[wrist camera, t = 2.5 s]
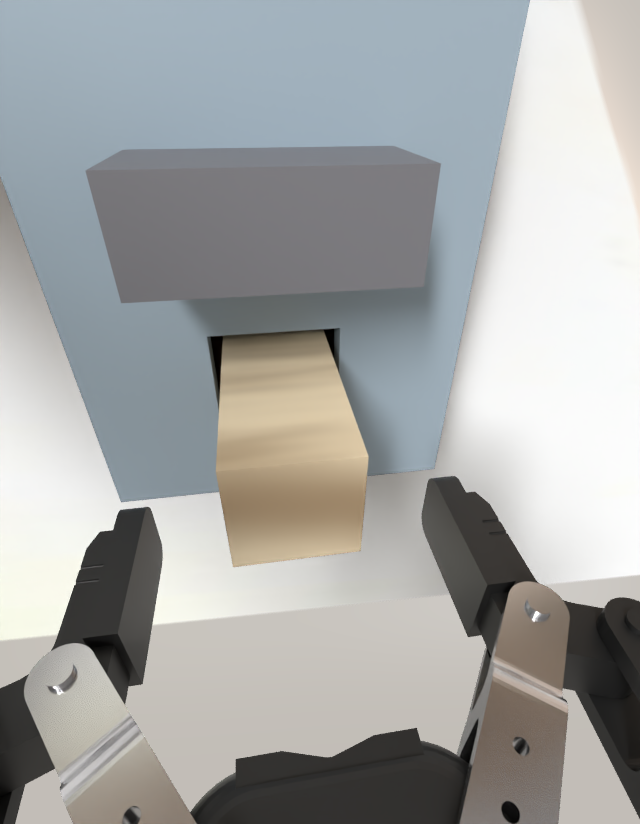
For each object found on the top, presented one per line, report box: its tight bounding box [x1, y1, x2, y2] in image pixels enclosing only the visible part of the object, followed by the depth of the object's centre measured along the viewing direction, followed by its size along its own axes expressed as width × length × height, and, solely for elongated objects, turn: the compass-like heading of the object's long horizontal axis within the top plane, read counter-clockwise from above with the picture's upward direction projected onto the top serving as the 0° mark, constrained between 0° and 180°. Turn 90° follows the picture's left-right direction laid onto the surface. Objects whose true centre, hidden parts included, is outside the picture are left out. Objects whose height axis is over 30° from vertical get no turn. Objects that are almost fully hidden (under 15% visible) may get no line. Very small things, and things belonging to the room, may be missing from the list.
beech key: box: [216, 329, 369, 567], centre depth 19 cm, size 4×4×16 cm
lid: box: [0, 0, 530, 502], centre depth 14 cm, size 23×15×5 cm, turn 0°
